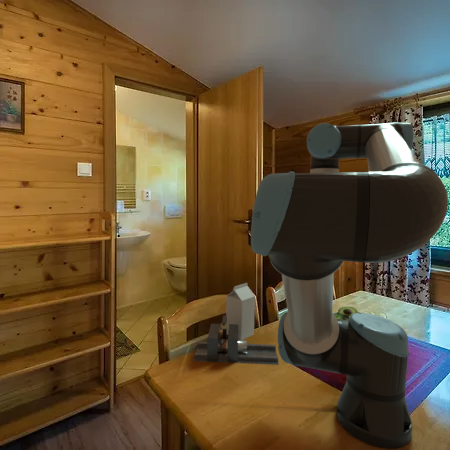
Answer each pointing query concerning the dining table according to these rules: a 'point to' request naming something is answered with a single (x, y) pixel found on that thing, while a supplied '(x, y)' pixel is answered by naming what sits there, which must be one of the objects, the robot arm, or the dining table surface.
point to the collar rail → (233, 348)
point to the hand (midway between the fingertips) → (320, 270)
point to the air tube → (224, 346)
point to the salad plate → (345, 313)
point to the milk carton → (241, 310)
